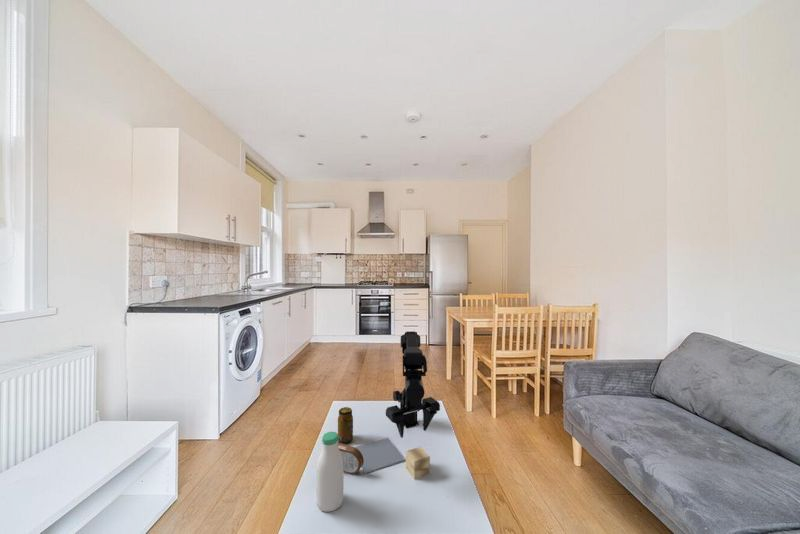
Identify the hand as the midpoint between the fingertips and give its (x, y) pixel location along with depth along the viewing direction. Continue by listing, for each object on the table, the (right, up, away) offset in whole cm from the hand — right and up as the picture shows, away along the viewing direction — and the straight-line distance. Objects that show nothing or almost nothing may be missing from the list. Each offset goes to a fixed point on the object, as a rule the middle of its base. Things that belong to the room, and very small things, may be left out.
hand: (413, 433), depth 102 cm
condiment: (-26, -12, +17) cm, 34 cm away
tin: (-24, -13, 0) cm, 28 cm away
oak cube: (+2, -12, -1) cm, 13 cm away
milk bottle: (-25, -13, -14) cm, 32 cm away
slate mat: (-13, -12, +8) cm, 19 cm away
